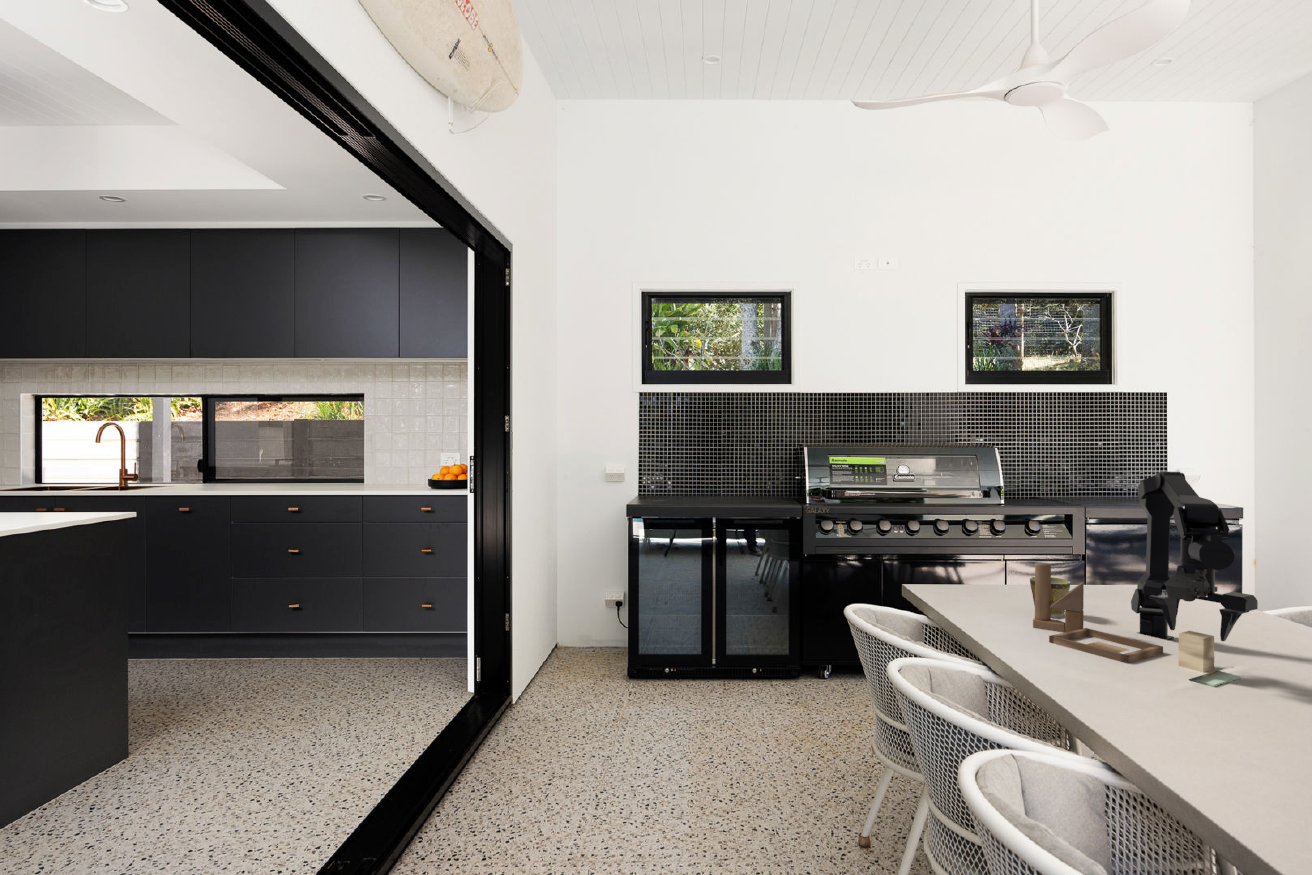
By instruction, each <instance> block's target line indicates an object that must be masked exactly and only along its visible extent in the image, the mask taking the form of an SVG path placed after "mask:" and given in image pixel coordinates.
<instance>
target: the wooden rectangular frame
mask: <svg viewBox="0 0 1312 875" xmlns="http://www.w3.org/2000/svg"><path fill="white" fill-rule="evenodd" d="M1084 637H1091V638H1095V639H1100V640H1103V641H1107V642H1111V643H1115V644H1119V645H1124V646H1127V647H1131V648H1134V649H1135V648H1136V649H1138V650H1134V651H1131V652H1126V651H1130V649H1129V648H1124V647H1121V646H1117V645H1112V644H1108V643H1104V642H1102V641H1095V642H1090V643H1082V642H1078V641H1075V640H1076V639H1079V638H1080V639H1081V638H1084ZM1048 643H1049V644H1053V645H1054V644H1055V645H1057V646H1061V647H1065V648H1068V649H1072V650H1076V651H1080V652H1084V653H1088V654H1090V655H1094V656H1099V657H1101V658H1106V659H1109V660H1113V661H1117V662H1120V663H1124V664H1128V663H1131V662H1135V661H1140V660H1144V659H1147V658H1150V657H1154V656H1158V655H1163V654H1164V646H1163V645H1157V644H1154V643H1149V642H1146V641H1143V640H1142V641H1141V640H1139V639H1138V640H1137V639H1134V638H1129V637H1125V636H1120V635H1116V634H1113V633H1109V632H1104V631H1100V630H1095V629H1092V628H1088V627H1085V628H1084V627H1083V629H1080V630H1075V631H1070V632H1065V633H1063V632H1060V633H1055V634H1052V635H1049V636H1048ZM1123 652H1126V653H1123Z"/></svg>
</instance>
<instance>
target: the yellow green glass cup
mask: <svg viewBox="0 0 1312 875" xmlns="http://www.w3.org/2000/svg"><path fill="white" fill-rule="evenodd" d="M1029 583H1030V584H1029V585H1030V590H1031V593H1032V594H1031V595H1032V599H1033V603H1034V604H1033V605H1034V606H1035V576H1031V577H1029ZM1070 588H1071V581H1070V580H1067V579H1066V578H1060V577H1053V576H1051V605H1052V604H1053V603H1055V602H1056V601H1057V600H1059V599H1060V598H1061V597H1063V596H1064V595H1065V594H1067V593H1068V592H1069V591H1070ZM1065 611H1066V610H1062V609H1055V608H1051V619H1062V618H1063V617H1065Z"/></svg>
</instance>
